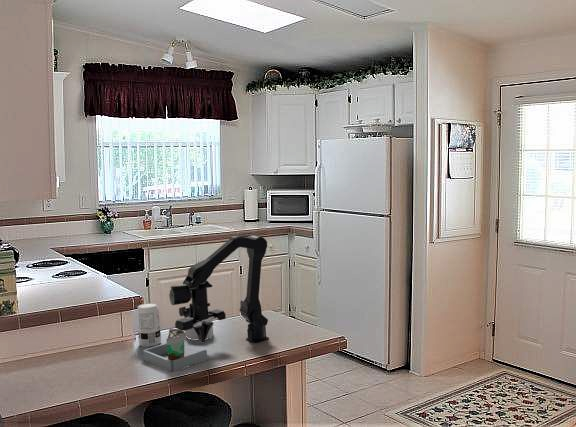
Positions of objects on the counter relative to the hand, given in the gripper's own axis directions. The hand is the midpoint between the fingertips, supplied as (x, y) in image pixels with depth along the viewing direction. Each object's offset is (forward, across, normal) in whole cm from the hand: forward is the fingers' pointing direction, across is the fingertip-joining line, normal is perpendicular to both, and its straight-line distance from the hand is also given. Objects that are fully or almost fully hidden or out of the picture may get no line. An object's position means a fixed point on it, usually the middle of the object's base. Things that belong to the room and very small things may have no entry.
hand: (202, 342), depth 216 cm
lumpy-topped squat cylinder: (+3, -10, -16) cm, 19 cm away
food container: (+3, +12, +2) cm, 12 cm away
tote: (+3, +12, 0) cm, 12 cm away
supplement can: (+3, +8, -23) cm, 25 cm away
